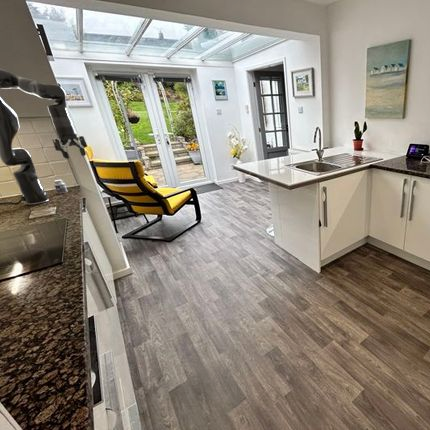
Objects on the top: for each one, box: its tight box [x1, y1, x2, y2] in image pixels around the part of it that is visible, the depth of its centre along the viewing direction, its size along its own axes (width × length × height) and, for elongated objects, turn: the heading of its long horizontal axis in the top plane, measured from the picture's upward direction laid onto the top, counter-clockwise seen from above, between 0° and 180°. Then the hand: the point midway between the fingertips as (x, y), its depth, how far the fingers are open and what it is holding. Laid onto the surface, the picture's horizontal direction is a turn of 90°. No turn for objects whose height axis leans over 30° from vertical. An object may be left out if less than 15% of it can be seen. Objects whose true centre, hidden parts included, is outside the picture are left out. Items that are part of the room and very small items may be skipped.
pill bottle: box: [53, 179, 69, 195], centre depth 182 cm, size 5×5×9 cm
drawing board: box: [28, 206, 57, 221], centre depth 146 cm, size 16×10×1 cm, turn 42°
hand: (75, 156), depth 144 cm, fingers open, 8 cm apart
